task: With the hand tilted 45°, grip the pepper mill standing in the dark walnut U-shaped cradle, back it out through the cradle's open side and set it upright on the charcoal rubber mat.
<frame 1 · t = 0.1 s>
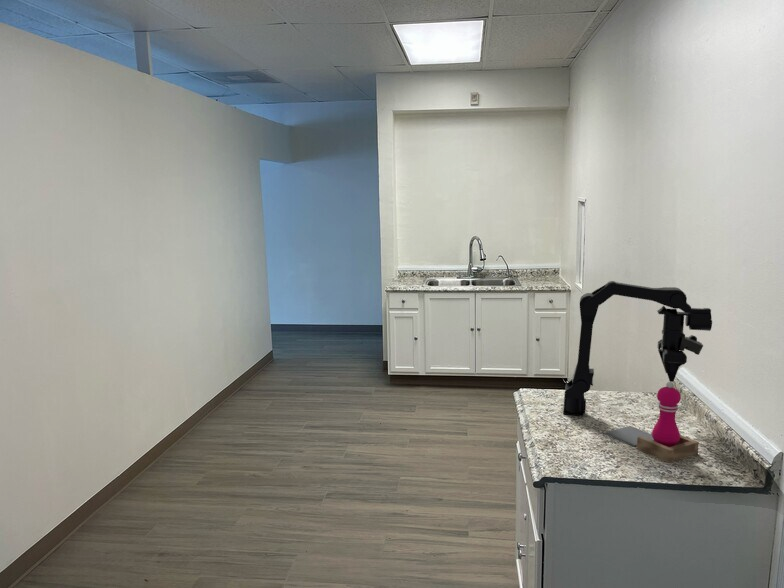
hand: (669, 377, 189), 15 cm above the counter, tool pointing down, fingers open, 9 cm apart
pepper mill: (664, 451, 170), on the counter
rubber mat: (632, 437, 180), on the counter
walnut cradle: (664, 450, 170), on the counter
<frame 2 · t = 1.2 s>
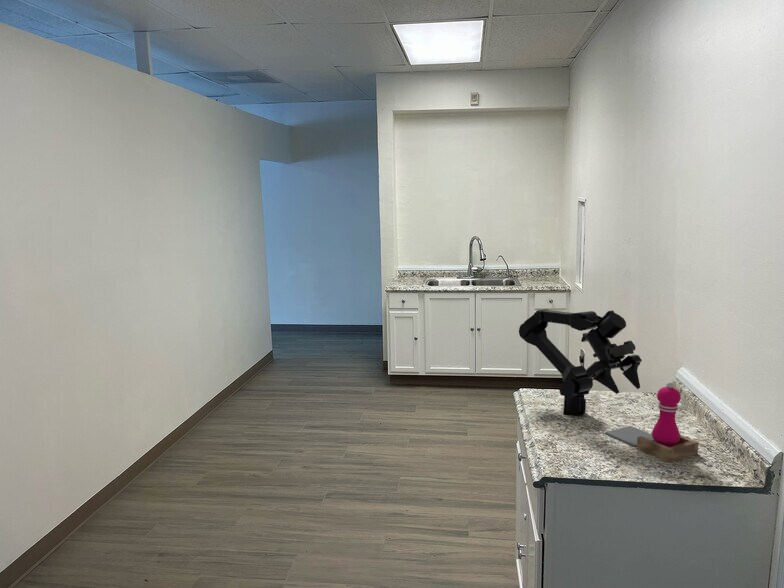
hand: (628, 390, 180), 13 cm above the counter, tool tilted 45°, fingers open, 9 cm apart
nothing on the counter moved.
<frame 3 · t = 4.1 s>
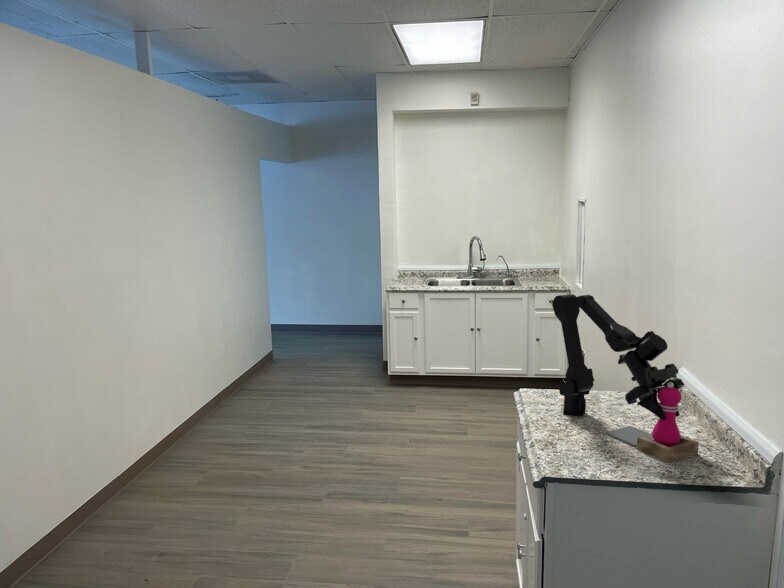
hand: (671, 417, 167), 10 cm above the counter, tool tilted 45°, fingers closed on pepper mill, 5 cm apart
pepper mill: (664, 451, 170), on the counter, touching gripper
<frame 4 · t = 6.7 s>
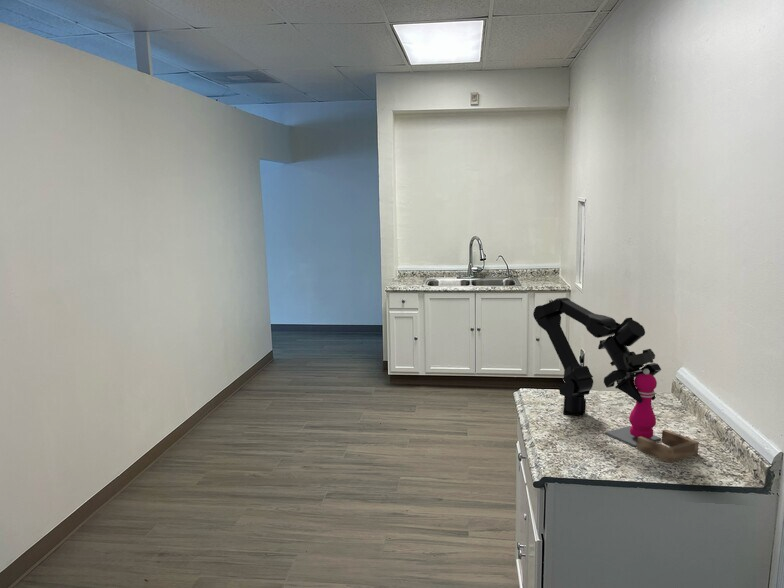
hand: (647, 400, 174), 13 cm above the counter, tool tilted 45°, fingers closed on pepper mill, 5 cm apart
pepper mill: (641, 435, 177), point 2 cm above the counter, touching gripper
when the fingers open (11 cm above the counter, at t = 8.1 s): pepper mill stays where it is, resting on rubber mat.
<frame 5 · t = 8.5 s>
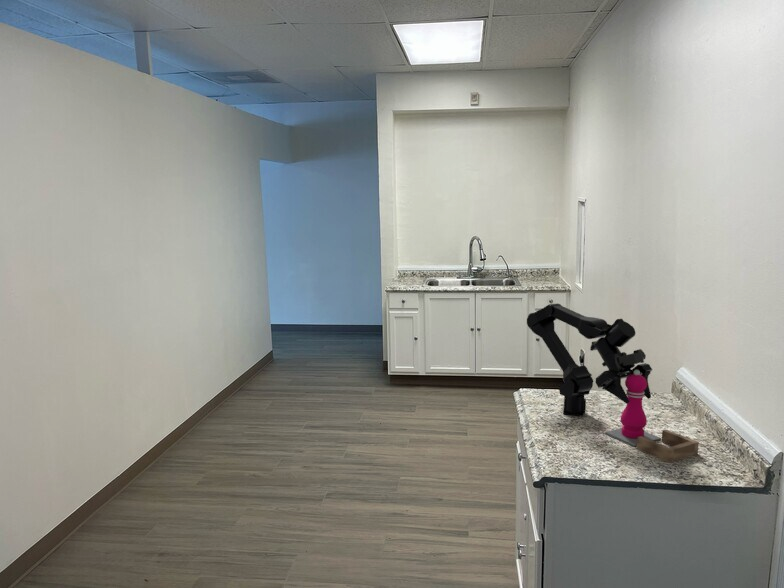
hand: (639, 400, 177), 12 cm above the counter, tool tilted 45°, fingers open, 9 cm apart
pepper mill: (632, 435, 180), resting on rubber mat
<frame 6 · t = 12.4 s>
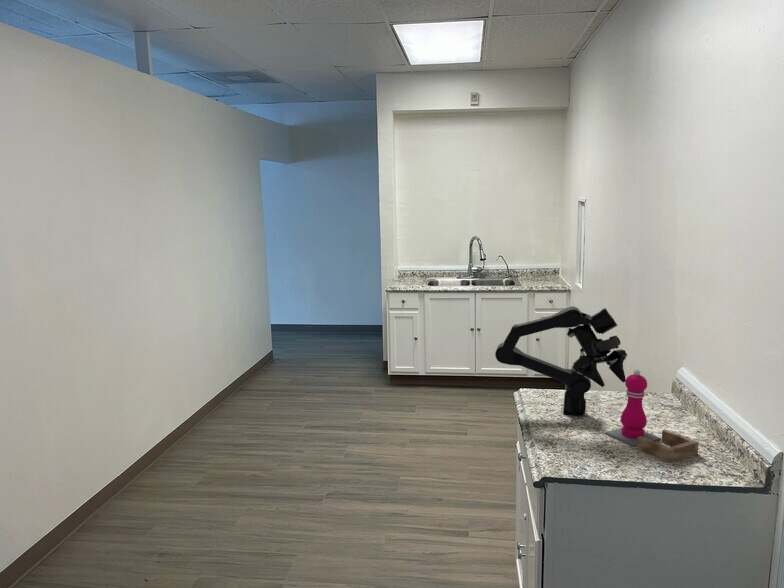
hand: (614, 383, 186), 14 cm above the counter, tool tilted 45°, fingers open, 9 cm apart
nothing on the counter moved.
at the end: pepper mill inside the target area on the rubber mat (0.2 cm from its centre), point 0.4 cm above the rubber mat's base; pepper mill tilted 0°; the gripper is holding nothing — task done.
